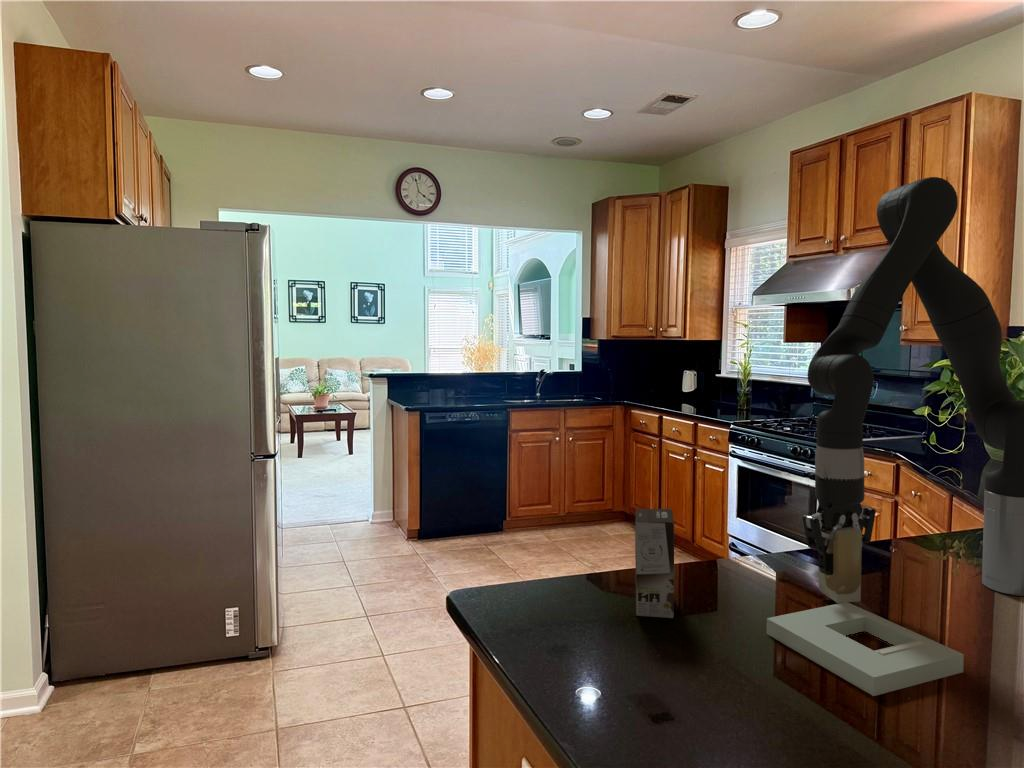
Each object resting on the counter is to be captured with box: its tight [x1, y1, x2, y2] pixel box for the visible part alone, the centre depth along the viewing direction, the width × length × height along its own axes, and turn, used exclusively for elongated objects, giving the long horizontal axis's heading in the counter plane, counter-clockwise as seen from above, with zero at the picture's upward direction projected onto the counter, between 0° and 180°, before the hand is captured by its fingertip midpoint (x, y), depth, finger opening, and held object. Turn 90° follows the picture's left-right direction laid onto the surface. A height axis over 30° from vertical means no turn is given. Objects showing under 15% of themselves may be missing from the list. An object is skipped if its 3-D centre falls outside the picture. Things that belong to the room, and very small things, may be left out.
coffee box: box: [634, 508, 675, 619], centre depth 120 cm, size 9×6×16 cm
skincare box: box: [818, 527, 863, 604], centre depth 119 cm, size 6×4×12 cm
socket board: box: [766, 602, 965, 697], centre depth 102 cm, size 16×20×3 cm
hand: (839, 570), depth 119 cm, fingers closed on skincare box, 5 cm apart
